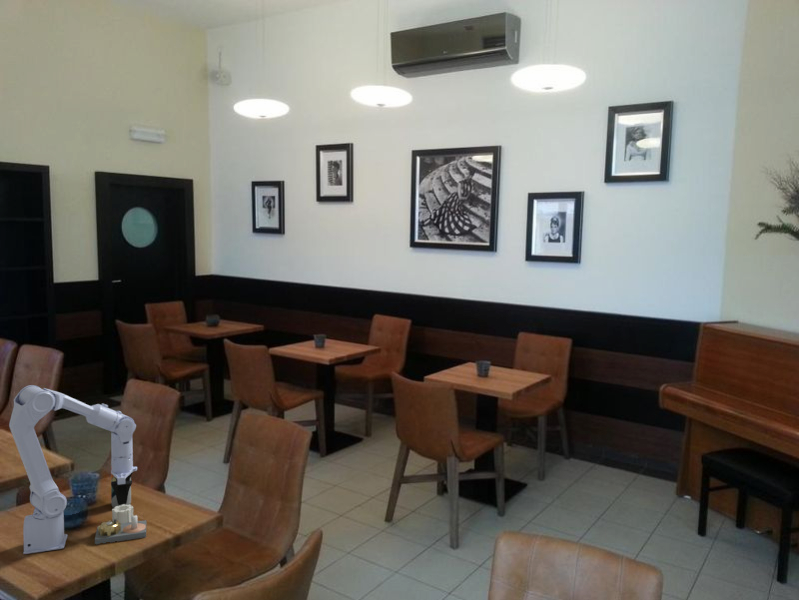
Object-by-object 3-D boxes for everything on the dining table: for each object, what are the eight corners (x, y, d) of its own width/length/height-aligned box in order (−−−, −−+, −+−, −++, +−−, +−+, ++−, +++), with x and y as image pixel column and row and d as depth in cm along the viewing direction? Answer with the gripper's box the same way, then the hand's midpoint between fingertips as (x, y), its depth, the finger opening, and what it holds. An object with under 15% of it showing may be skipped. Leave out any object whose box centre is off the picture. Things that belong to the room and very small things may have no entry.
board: (94, 544, 165) (94, 527, 165) (97, 531, 173) (97, 515, 172) (146, 537, 170) (145, 520, 170) (146, 525, 178) (146, 508, 177)
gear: (97, 537, 166) (97, 526, 166) (99, 528, 171) (99, 517, 171) (120, 534, 168) (120, 523, 168) (121, 525, 174) (121, 514, 173)
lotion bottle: (112, 501, 193) (112, 440, 192) (132, 499, 195) (131, 439, 193) (110, 508, 188) (109, 446, 186) (129, 507, 190) (129, 445, 188)
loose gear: (111, 526, 176) (111, 513, 176) (113, 518, 181) (112, 505, 181) (133, 523, 178) (132, 510, 178) (133, 515, 184) (133, 503, 183)
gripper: (136, 461, 173) (137, 506, 174) (137, 445, 186) (138, 488, 188) (109, 464, 170) (110, 510, 171) (112, 448, 184) (113, 491, 185)
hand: (122, 499), depth 179 cm, fingers open, 7 cm apart
